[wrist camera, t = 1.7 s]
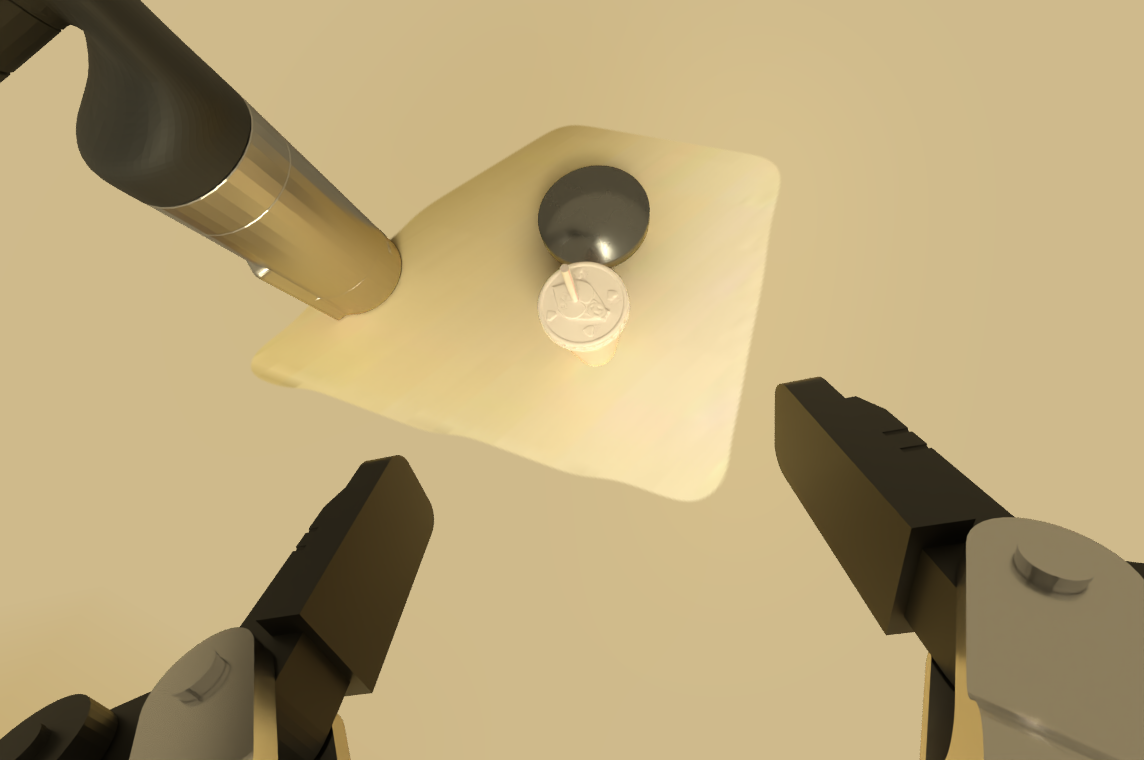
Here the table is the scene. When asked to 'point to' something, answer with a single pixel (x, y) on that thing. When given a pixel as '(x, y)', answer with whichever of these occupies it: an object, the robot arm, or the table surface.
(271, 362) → the table surface
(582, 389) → the table surface
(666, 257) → the table surface
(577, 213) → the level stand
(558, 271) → the smoothie
